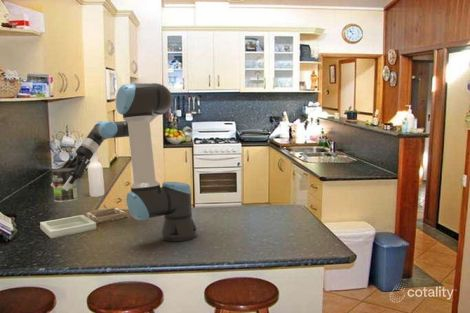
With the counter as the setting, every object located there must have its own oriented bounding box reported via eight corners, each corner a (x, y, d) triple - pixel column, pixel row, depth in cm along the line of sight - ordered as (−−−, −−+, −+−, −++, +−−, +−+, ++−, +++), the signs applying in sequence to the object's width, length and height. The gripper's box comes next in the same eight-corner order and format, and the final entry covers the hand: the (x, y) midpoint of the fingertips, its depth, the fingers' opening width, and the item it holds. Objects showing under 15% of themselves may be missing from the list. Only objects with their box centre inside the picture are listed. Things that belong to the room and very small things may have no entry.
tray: (96, 229, 210) (96, 223, 209) (51, 238, 198) (50, 231, 198) (83, 220, 226) (82, 214, 226) (40, 228, 215) (39, 222, 214)
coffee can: (65, 203, 204) (62, 171, 202) (49, 201, 209) (46, 170, 207) (82, 198, 213) (80, 168, 211) (67, 196, 218) (64, 167, 216)
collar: (126, 217, 229) (126, 212, 228) (96, 223, 220) (95, 218, 220) (115, 211, 241) (115, 207, 241) (86, 217, 233) (86, 212, 232)
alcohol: (86, 197, 281) (82, 148, 277) (95, 193, 290) (91, 146, 286) (99, 197, 279) (95, 148, 275) (107, 194, 287) (103, 146, 283)
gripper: (105, 155, 212) (77, 195, 203) (80, 153, 227) (52, 190, 217) (94, 145, 208) (65, 185, 198) (69, 143, 222) (40, 181, 213)
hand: (58, 188), depth 208 cm, fingers closed on coffee can, 10 cm apart
